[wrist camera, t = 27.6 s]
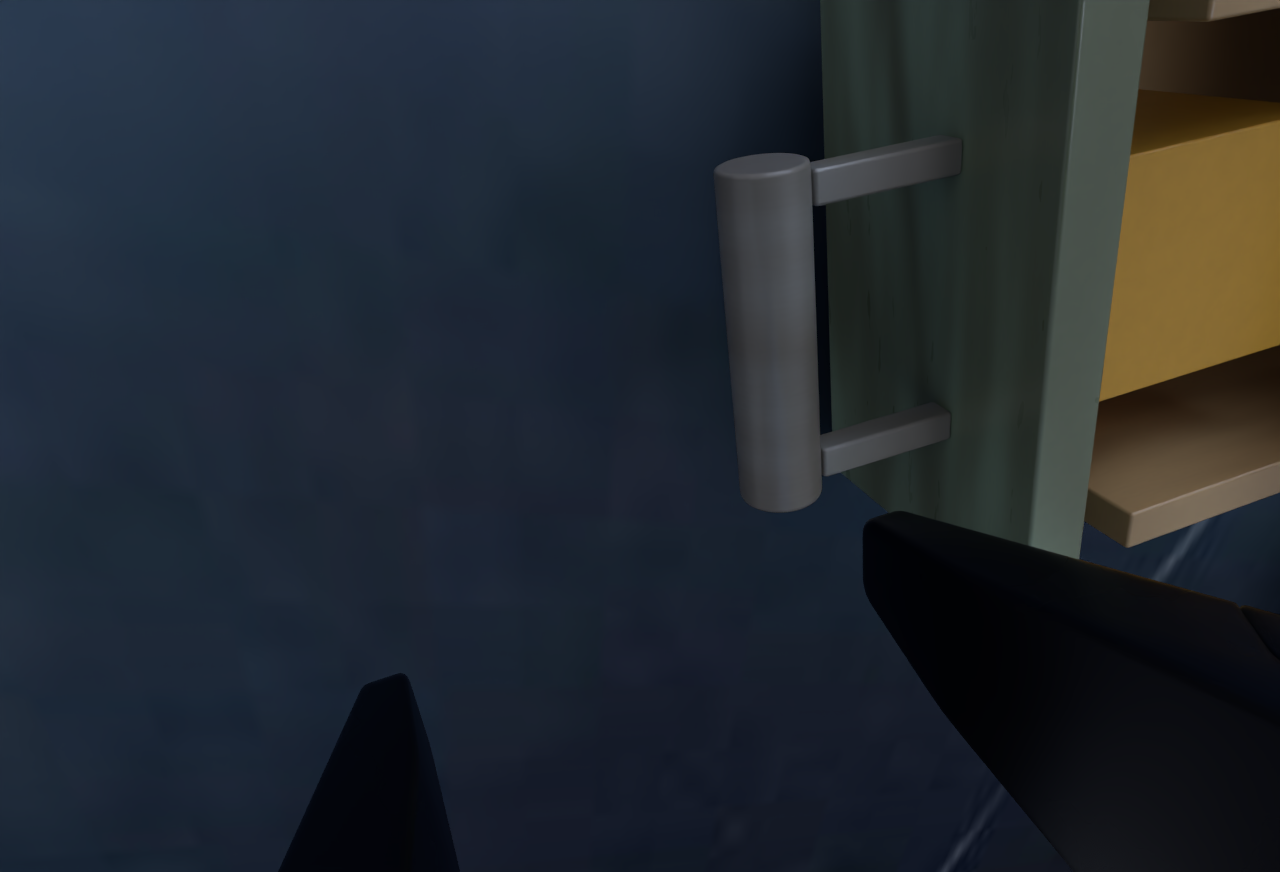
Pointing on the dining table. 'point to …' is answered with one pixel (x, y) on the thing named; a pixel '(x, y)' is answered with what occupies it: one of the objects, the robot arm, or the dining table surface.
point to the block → (1195, 240)
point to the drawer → (986, 274)
